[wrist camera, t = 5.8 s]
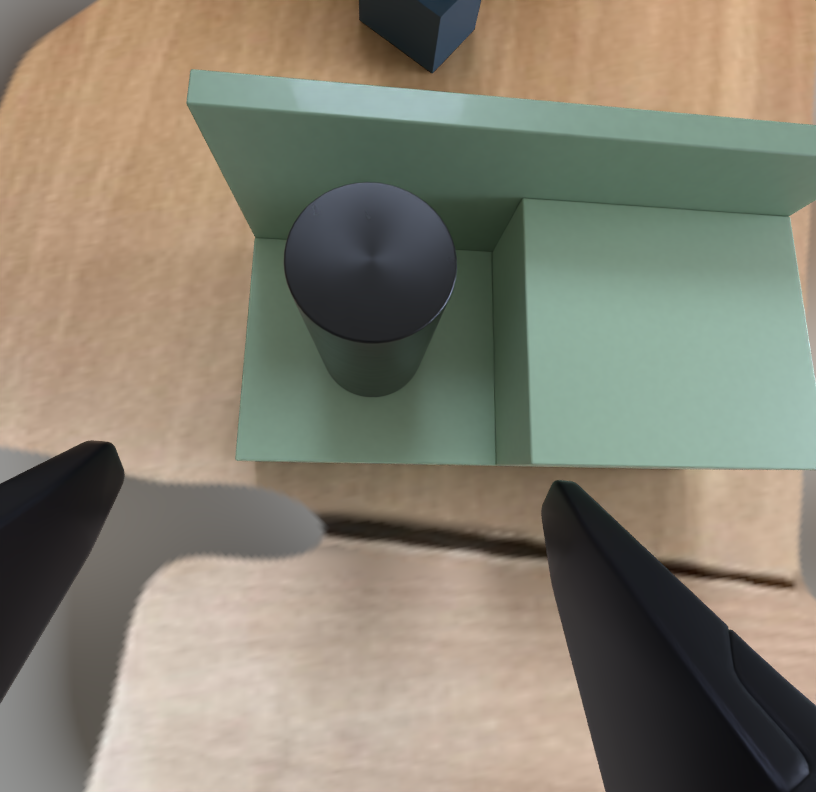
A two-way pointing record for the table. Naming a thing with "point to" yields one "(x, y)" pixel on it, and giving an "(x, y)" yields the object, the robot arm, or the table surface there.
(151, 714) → the table surface
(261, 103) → the step shelf
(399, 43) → the watch
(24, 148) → the table surface
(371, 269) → the black canister
